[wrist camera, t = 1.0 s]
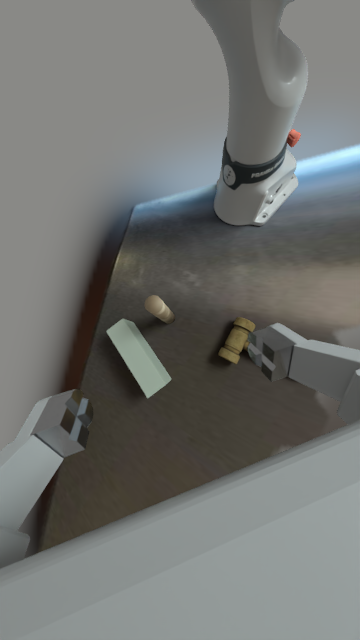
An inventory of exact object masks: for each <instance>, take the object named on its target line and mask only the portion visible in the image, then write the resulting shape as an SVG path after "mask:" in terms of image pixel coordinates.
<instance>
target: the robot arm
mask: <svg viewBox="0 0 360 640" xmlns="http://www.w3.org/2000/svg"><path fill="white" fill-rule="evenodd" d="M191 1H192V3H193V5H194V6H195V8H196V9H197V10H198V11H199V13H200V14H201V15H202V16H203V17H204V18H205V20H206V21H207V23H208V24H209V26H210V27H211V28H212V30H213V32H214V34H215V36H216V37H217V40H218V42H219V44H220V47H221V49H222V52H223V55H224V58H225V62H226V66H227V71H228V77H229V89H230V90H229V95H230V96H229V119H228V131H227V137H226V139H225V142H224V148H223V158H222V167H221V172H220V178H219V180H218V181H217V185H216V188H217V193H216V196H215V199H214V209H215V212H216V214H217V215H218V217H219V218H220V219H221V220H223V221H224V222H226V223H229V224H232V225H247V224H252V225H257V226H262V225H264V224H265V223H266V222H267V221H268V220H269V218H270V217H271V216H272V215H273V214H274V213H275V212H276V211H277V210H278V208H279V207H280V206H281V205H282V204H283V203H284V202H285V201H286V200H287V198H288V197H289V196H290V195H291V194H292V193H293V192H294V191H295V189H296V188H297V186H298V180H297V178H296V176H295V174H294V172H295V169H296V160H295V158H294V157H293V155H292V154H291V153H290V152H289V151H288V150H287V149H286V146H287V143H288V144H289V145H290V146H291V147H293V146H294V145H295V144H296V143H297V141H298V140H299V138H300V136H301V135H300V133H299V132H296V131H295V129H293V130H291V131H290V129H291V127H292V124H293V121H294V119H295V116H296V114H297V111H298V109H299V106H300V104H301V101H302V98H303V96H304V94H305V90H306V86H307V80H308V66H307V61H306V58H305V56H304V54H303V52H302V51H301V49H300V48H299V47H298V46H297V45H296V44H295V43H294V42H293V41H292V40H291V39H289V38H288V37H287V36H286V35H284V34H283V32H282V31H281V29H280V28H279V25H280V20H281V16H282V13H283V10H284V8H285V7H286V5H287V4H289V3H290V2H293V1H294V0H191ZM263 217H265V218H263ZM248 340H249V341H250V344H249V346H248V353H249V356H250V358H251V360H252V361H253V362H254V363H255V365H258V366H261V371H262V372H263V373H264V374H265V376H266V377H267V378H268V379H269V380H270V381H271V382H272V381H275V380H278V379H281V378H284V377H287V376H289V378H291V379H293V380H296V381H298V382H300V383H302V384H304V385H306V386H308V387H310V388H312V389H314V390H317V391H319V392H321V393H323V394H325V395H327V396H329V397H331V398H333V399H336V400H337V401H340V402H341V403H340V405H339V408H338V410H337V415H338V416H339V417H340V418H341V419H343V420H344V421H345V422H346V423H347V424H348V425H346V426H344V427H341V428H339V429H336V430H334V431H331V432H329V433H327V434H324V435H322V436H319V437H317V438H315V439H312V440H310V441H307V442H305V443H303V444H300V445H298V446H295V447H293V448H290V449H288V450H286V451H283V452H281V453H278V454H276V455H274V456H271V457H269V458H266V459H264V460H262V461H259V462H257V463H254V464H252V465H249V466H247V467H245V468H242V469H240V470H237V471H235V472H233V473H230V474H228V475H225V476H223V477H220V478H218V479H216V480H213V481H211V482H208V483H206V484H204V485H201V486H199V487H196V488H194V489H192V490H189V491H187V492H184V493H182V494H179V495H177V496H175V497H172V498H170V499H167V500H165V501H163V502H160V503H158V504H155V505H153V506H151V507H148V508H146V509H143V510H141V511H138V512H136V513H134V514H131V515H129V516H126V517H124V518H122V519H119V520H117V521H114V522H112V523H110V524H107V525H105V526H102V527H100V528H97V529H95V530H93V531H90V532H88V533H85V534H83V535H81V536H78V537H76V538H73V539H71V540H69V541H66V542H64V543H61V544H59V545H56V546H54V547H52V548H49V549H47V550H44V551H42V552H40V553H37V554H35V555H32V556H30V557H28V558H25V559H24V556H25V553H26V550H27V547H28V544H29V541H30V538H29V535H28V534H24V533H21V532H18V531H17V530H18V528H19V527H20V525H21V524H22V522H23V521H24V519H25V518H26V516H27V515H28V513H29V512H30V510H31V509H32V507H33V505H34V504H35V502H36V501H37V499H38V498H39V496H40V495H41V493H42V491H43V490H44V488H45V487H46V485H47V484H48V482H49V481H50V479H51V478H52V476H53V475H54V473H55V472H56V470H57V468H58V467H59V465H60V464H61V462H62V461H63V458H64V457H67V456H69V455H72V454H74V453H77V452H79V451H82V450H85V448H86V444H87V439H88V435H89V431H88V429H87V427H88V426H89V424H90V423H91V422H92V418H93V407H92V405H91V403H90V401H89V400H88V399H85V398H83V394H84V393H83V392H82V391H81V390H80V389H74V390H70V391H67V392H64V393H60V394H57V395H54V396H51V397H48V398H44V399H41V400H40V401H38V402H37V403H36V405H35V406H34V408H33V410H32V411H31V413H30V415H29V416H28V418H27V420H26V421H25V423H24V425H23V426H22V428H21V430H20V432H19V433H18V435H17V437H16V438H15V440H14V442H11V443H9V444H8V445H7V446H6V447H4V448H3V449H2V450H1V451H0V640H360V350H356V349H352V348H347V347H342V346H338V345H333V344H329V343H324V342H320V341H315V340H306V339H305V338H303V337H301V336H300V335H298V334H296V333H295V332H293V331H292V330H290V329H288V328H287V327H285V326H284V325H282V324H279V323H276V324H273V325H270V326H268V327H265V328H262V329H259V330H256V331H253V332H250V333H249V334H248Z"/></svg>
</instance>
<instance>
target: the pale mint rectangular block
mask: <svg viewBox="0 0 360 640" xmlns="http://www.w3.org/2000/svg"><path fill="white" fill-rule="evenodd" d="M106 332H107V333H108V335H109V337H110V338H111V340H112V342H113V343H114V345H115V346H116V348H117V350H118V351H119V353H120V354H121V356H122V358H123V359H124V361H125V363H126V364H127V366H128V367H129V369H130V371H131V372H132V374H133V375H134V377H135V379H136V380H137V382H138V384H139V385H140V387H141V388H142V390H143V392H144V393H145V395H146V396H147V398H149V397H150V396H152V395H153V394H154V393H156V392H157V391H158V390H160V389H161V388H162V387H164V386H165V385H166V384H167V383H168V382H169V381H170V380H171V377H170V376H169V374H168V373H167V371H166V370H165V368H164V367H163V365H162V364H161V362H160V361H159V359H158V358H157V357H156V355H155V354H154V352H153V351H152V349H151V348H150V346H149V345H148V343H147V342H146V340H145V339H144V337H143V336H142V334H141V333H140V331H139V330H138V328H137V327H136V325H135V324H134V322H131V321H128V320H126V319H122V320H120V321H119V322H118V323H116V324H115V325H114V326H112V327H111V328H110V329H108V330H107V331H106Z"/></svg>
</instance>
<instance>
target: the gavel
mask: <svg viewBox="0 0 360 640" xmlns="http://www.w3.org/2000/svg"><path fill="white" fill-rule="evenodd" d="M233 325H234V328H233V329H232V331H231V333H230V335H229V336H228V338H227V340H226V342H225V346H224V348H222V347H221V349H220V351H219V353H218V355H219V356H221V357H223V358H225V359H227V360H228V361H230V362H232V363H234V364H237V362H238V360H239V358H240V356H238V355H239V353H240V352H241V351H242V349H244V350H246V351H248V346H249V344H250V342H249V341H247V339H248V334H249V333H250V332H253V330H254V328H255V324H254V323H252V322H251V321H249V320H247V319H244V318H241V317H237V318H236V320H235V322H234V324H233Z"/></svg>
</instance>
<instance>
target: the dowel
mask: <svg viewBox="0 0 360 640" xmlns="http://www.w3.org/2000/svg"><path fill="white" fill-rule="evenodd" d="M145 308H146V310H147V311H149V312H150V313H152V314H153V315H155V316H156V317H158V318H159V319H161V320H162V321H164V322H165V323H167V324H170V323H172V322H173V321H174V320H175V315H174V314H173V313H172V311H171V310H170V309H169V308H168V307H167V306H166V305H165V303H164V302H163V301H162V300H161V299H160V298H159V297H158V296H155V295H153V296H150V297H148V298H147V299H146V301H145Z"/></svg>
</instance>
